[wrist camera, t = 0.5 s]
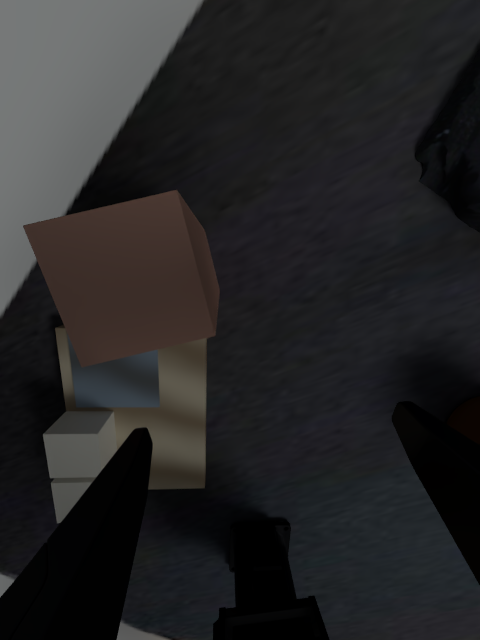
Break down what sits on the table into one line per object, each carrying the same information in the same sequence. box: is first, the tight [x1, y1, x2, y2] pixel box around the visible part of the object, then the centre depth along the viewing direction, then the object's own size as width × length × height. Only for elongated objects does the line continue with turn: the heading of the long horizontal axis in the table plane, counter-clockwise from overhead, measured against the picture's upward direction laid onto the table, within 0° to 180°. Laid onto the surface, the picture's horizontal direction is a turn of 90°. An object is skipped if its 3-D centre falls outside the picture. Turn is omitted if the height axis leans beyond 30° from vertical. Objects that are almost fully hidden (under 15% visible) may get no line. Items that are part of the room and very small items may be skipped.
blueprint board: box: [55, 324, 207, 490], centre depth 23 cm, size 16×12×1 cm
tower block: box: [23, 190, 220, 367], centre depth 15 cm, size 5×5×13 cm
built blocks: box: [43, 411, 117, 523], centre depth 22 cm, size 8×4×3 cm, turn 178°
